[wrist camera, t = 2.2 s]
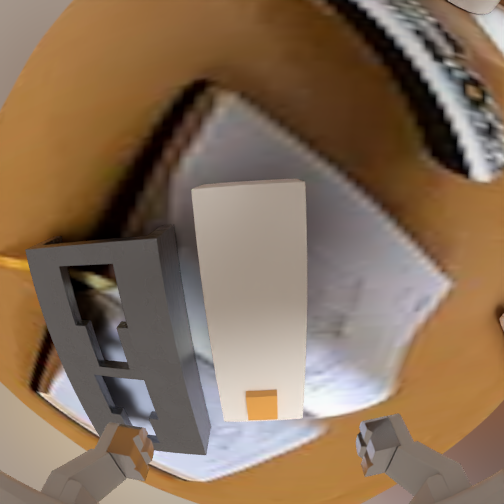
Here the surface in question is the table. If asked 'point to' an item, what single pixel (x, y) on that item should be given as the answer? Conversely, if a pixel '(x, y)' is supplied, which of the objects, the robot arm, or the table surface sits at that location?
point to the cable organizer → (502, 321)
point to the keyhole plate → (128, 333)
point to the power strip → (255, 293)
